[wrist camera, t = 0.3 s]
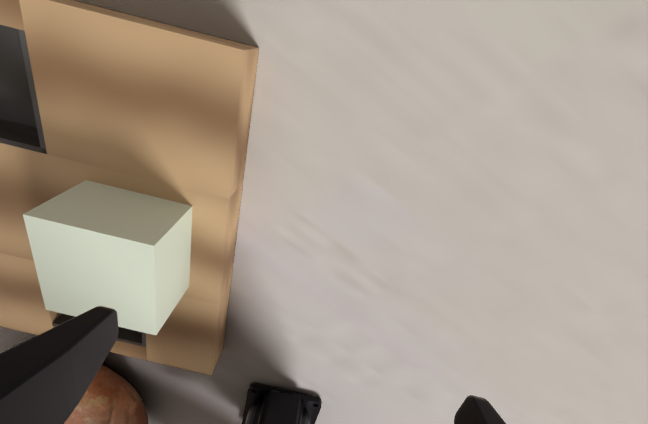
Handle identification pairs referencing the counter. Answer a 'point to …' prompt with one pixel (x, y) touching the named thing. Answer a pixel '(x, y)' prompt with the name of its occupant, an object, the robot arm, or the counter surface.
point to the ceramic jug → (109, 402)
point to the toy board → (123, 150)
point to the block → (112, 253)
